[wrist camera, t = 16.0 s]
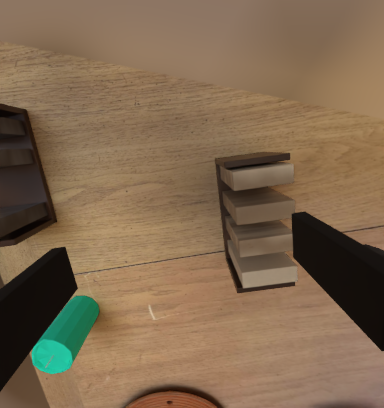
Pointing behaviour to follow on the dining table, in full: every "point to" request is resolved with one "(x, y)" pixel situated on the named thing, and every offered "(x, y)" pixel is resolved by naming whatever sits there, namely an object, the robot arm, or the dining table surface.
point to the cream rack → (255, 207)
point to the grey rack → (21, 180)
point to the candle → (65, 336)
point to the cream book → (263, 268)
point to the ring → (171, 401)
